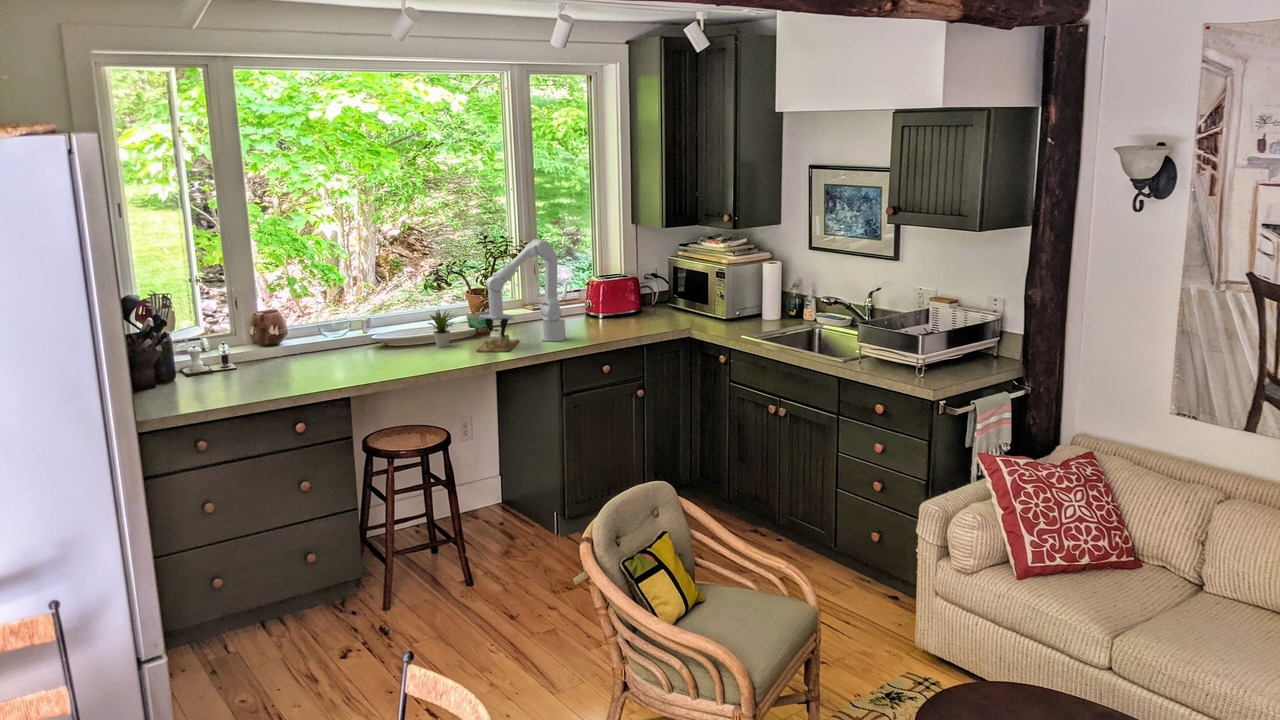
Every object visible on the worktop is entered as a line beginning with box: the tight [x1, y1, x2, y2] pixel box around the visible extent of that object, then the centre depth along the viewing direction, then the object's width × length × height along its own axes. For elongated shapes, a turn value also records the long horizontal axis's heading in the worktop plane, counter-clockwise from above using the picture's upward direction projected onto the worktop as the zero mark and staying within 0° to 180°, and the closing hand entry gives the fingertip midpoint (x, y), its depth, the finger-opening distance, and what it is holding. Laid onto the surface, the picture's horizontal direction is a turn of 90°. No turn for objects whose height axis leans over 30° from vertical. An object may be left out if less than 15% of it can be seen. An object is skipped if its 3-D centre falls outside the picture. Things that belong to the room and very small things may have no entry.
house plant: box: [426, 308, 458, 348], centre depth 427 cm, size 14×14×16 cm
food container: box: [465, 308, 489, 336], centre depth 451 cm, size 12×6×10 cm, turn 143°
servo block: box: [488, 327, 504, 340], centre depth 426 cm, size 4×13×6 cm, turn 175°
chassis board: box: [475, 334, 520, 353], centre depth 427 cm, size 14×20×4 cm
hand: (497, 336), depth 426 cm, fingers closed on servo block, 4 cm apart
